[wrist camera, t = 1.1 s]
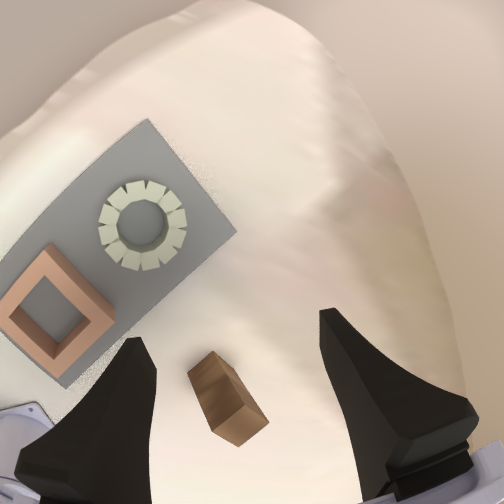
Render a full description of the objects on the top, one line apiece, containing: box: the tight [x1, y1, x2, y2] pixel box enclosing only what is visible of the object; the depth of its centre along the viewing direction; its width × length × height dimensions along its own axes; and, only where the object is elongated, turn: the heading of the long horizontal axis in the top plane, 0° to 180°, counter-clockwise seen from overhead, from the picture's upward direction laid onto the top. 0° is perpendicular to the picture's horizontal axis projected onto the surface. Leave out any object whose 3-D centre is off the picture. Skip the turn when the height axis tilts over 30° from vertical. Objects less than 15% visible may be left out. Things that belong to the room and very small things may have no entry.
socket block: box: [0, 118, 237, 389], centre depth 21 cm, size 20×11×4 cm, turn 127°
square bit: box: [187, 351, 270, 447], centre depth 25 cm, size 3×3×8 cm
